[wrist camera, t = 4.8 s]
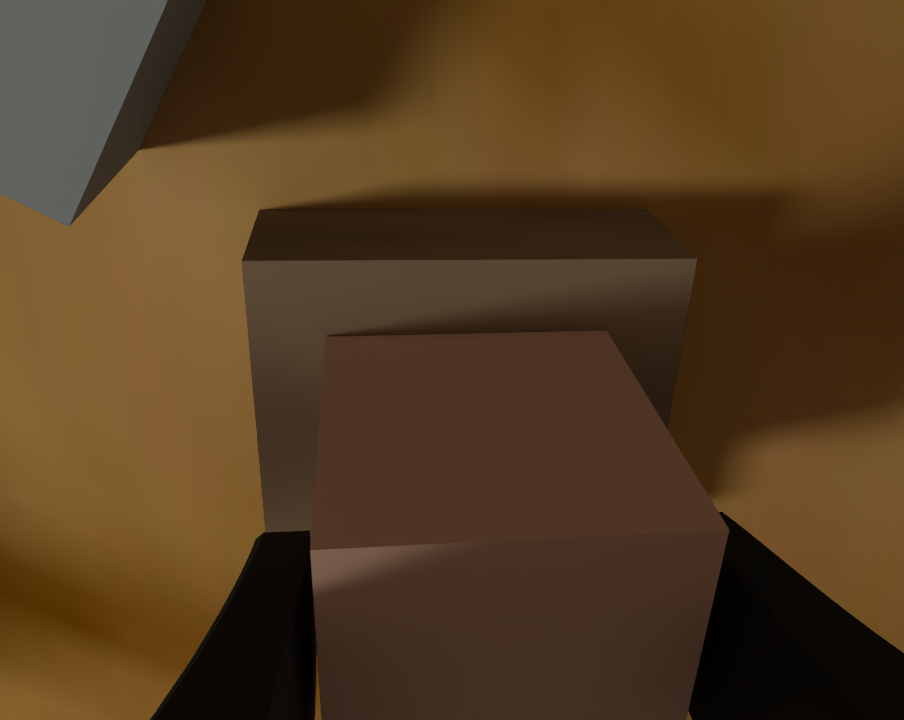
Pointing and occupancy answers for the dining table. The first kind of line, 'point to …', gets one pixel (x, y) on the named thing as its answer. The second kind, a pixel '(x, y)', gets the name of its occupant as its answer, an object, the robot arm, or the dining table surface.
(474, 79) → the dining table surface
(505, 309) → the walnut slab
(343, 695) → the terracotta cube
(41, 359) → the dining table surface
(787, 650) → the robot arm
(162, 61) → the slate cube
